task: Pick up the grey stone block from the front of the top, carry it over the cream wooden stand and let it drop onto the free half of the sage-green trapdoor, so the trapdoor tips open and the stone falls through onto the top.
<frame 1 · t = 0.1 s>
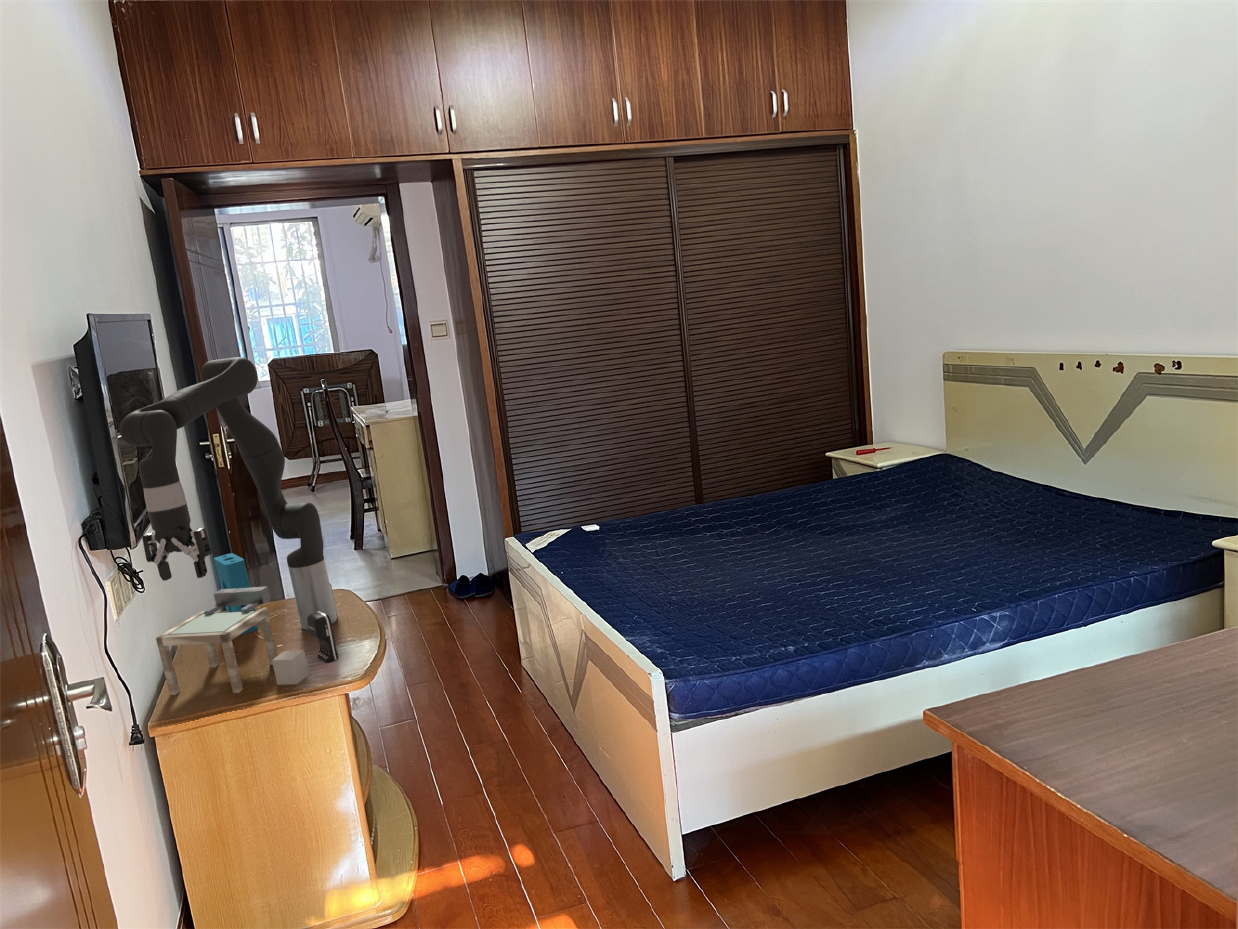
hand: (184, 578, 193), 29 cm above the table, tool pointing down, fingers open, 8 cm apart
block: (245, 629, 246), on the table
trapdoor frame: (225, 678, 213), on the table
stone block: (293, 679, 206), on the table
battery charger: (326, 659, 216), on the table
trapdoor: (221, 611, 213), point 15 cm above the table, hinge at 0.0°
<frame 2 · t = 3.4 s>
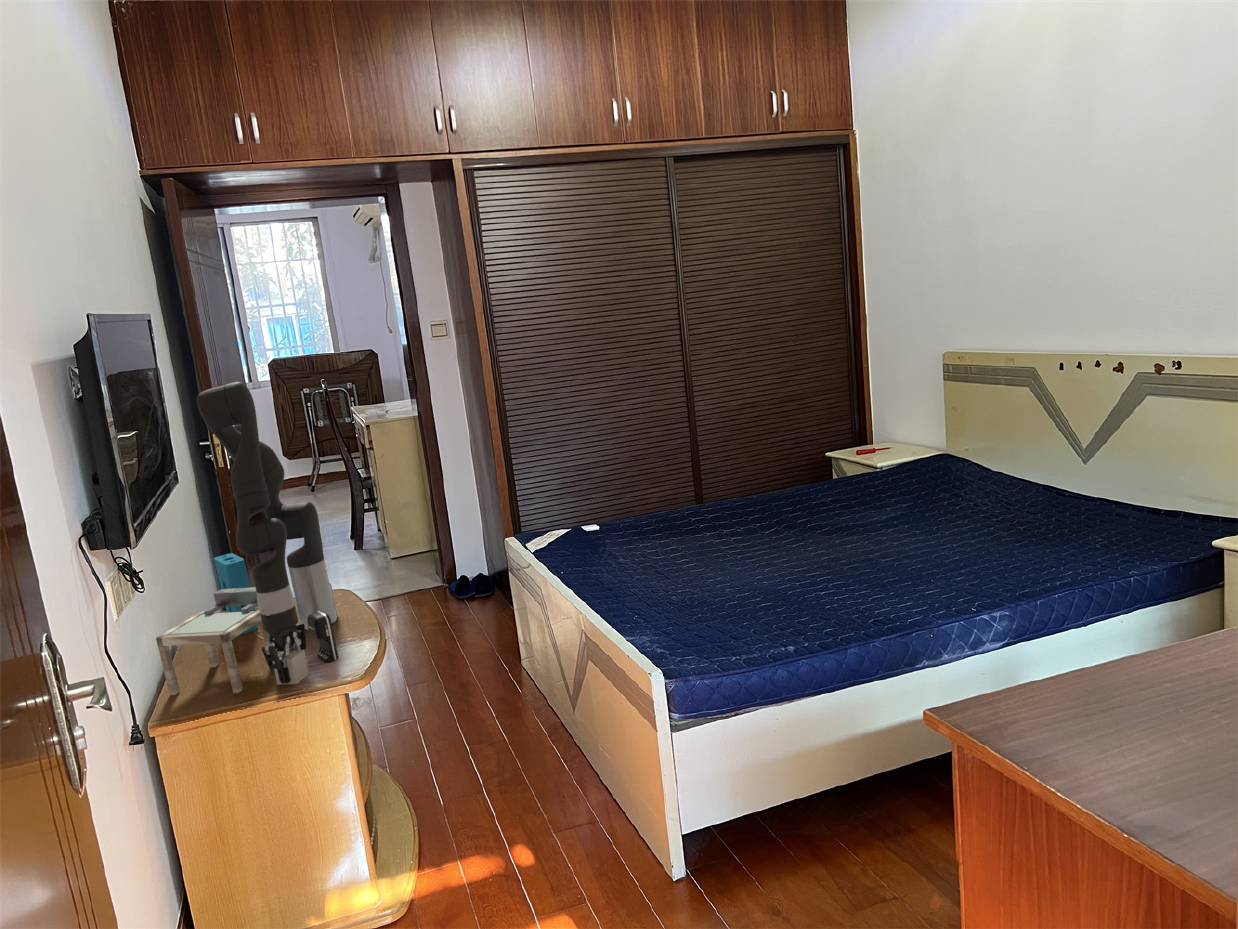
hand: (292, 676, 206), 1 cm above the table, tool pointing down, fingers closed on stone block, 5 cm apart
stone block: (293, 679, 206), on the table, touching gripper
everything else where it was.
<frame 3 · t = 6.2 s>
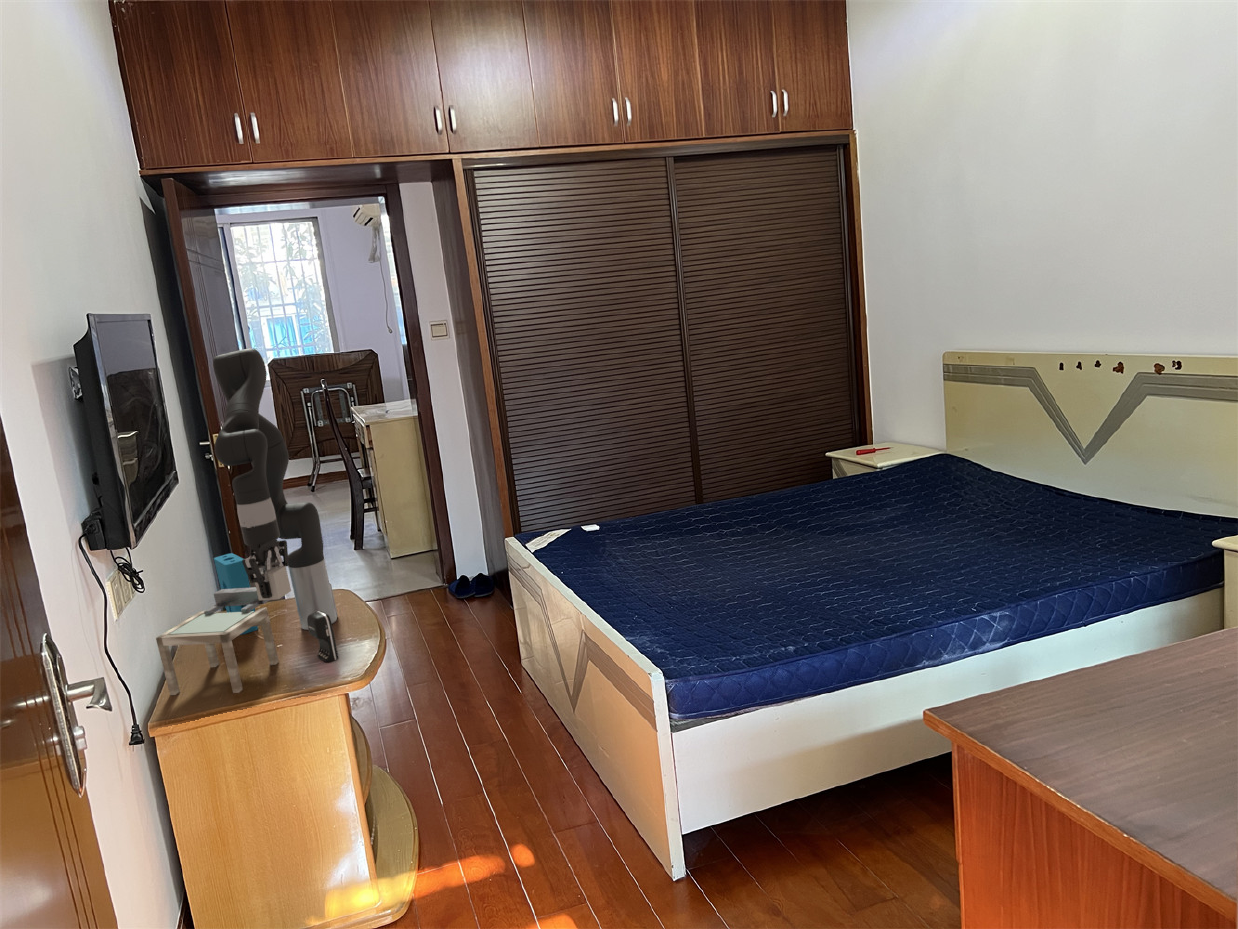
hand: (274, 592, 202), 21 cm above the table, tool pointing down, fingers closed on stone block, 5 cm apart
stone block: (275, 595, 202), point 20 cm above the table, touching gripper
everything else where it was.
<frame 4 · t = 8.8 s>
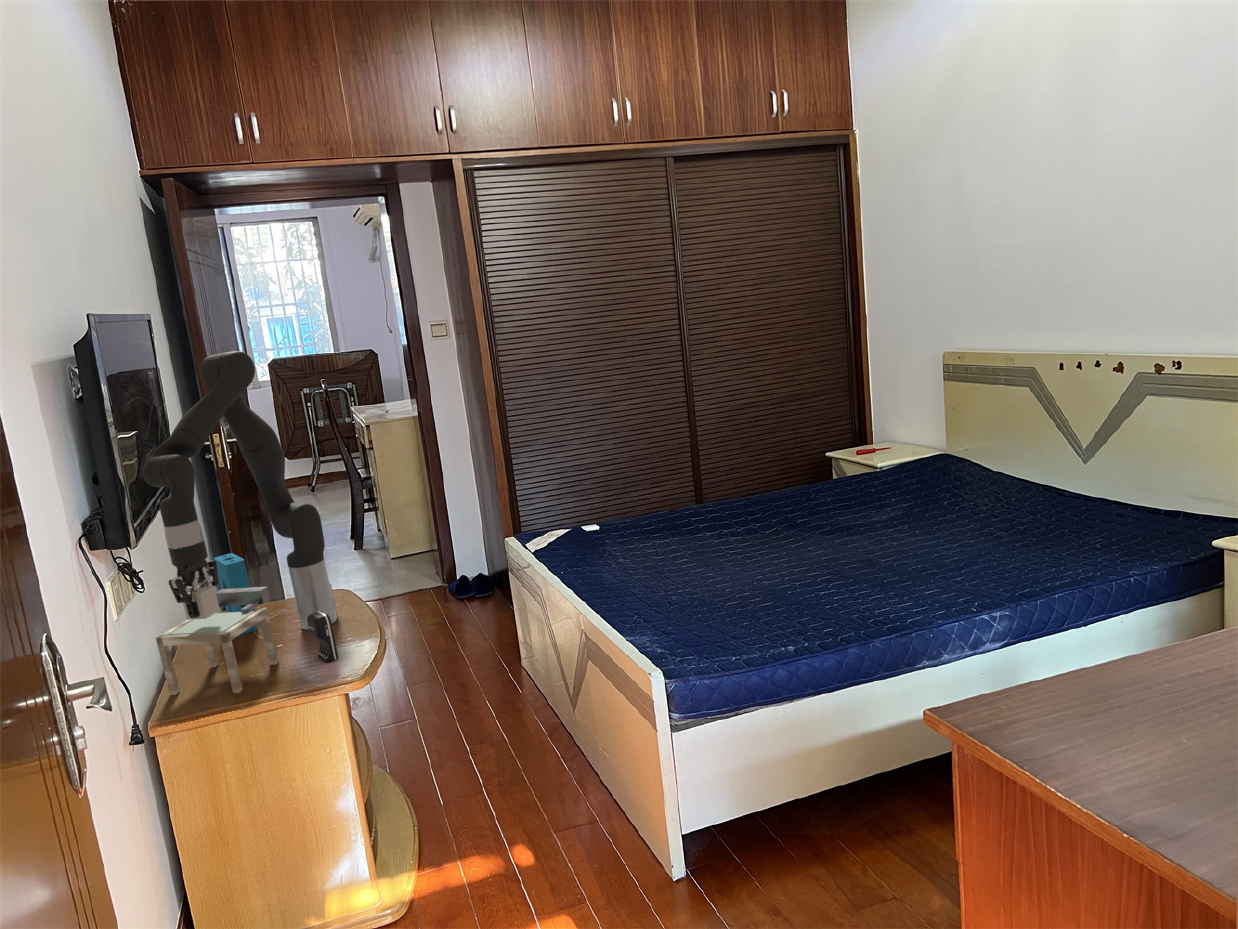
hand: (202, 612, 207), 17 cm above the table, tool pointing down, fingers closed on stone block, 5 cm apart
stone block: (203, 615, 207), point 17 cm above the table, touching gripper
everything else where it was.
when the fingers open (17 cm above the table, at t = 9.4 s): stone block drops 11 cm and tips over, point 6 cm above the table.
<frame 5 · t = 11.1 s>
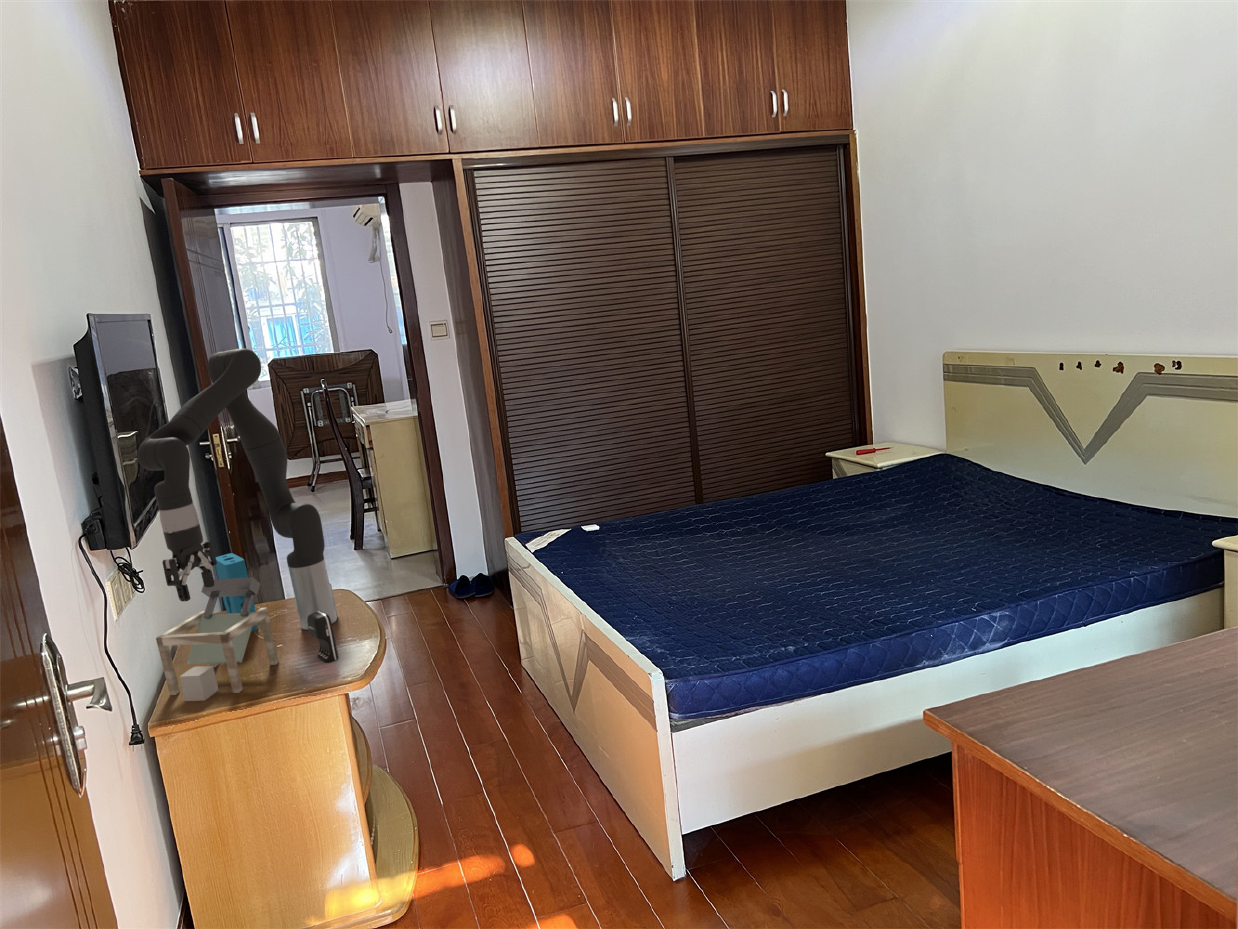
hand: (197, 593, 206), 22 cm above the table, tool pointing down, fingers open, 8 cm apart
stone block: (196, 671, 203), point 6 cm above the table, tilted 180°
trapdoor: (222, 620, 213), point 13 cm above the table, hinge at -43.9°
everything else where it was.
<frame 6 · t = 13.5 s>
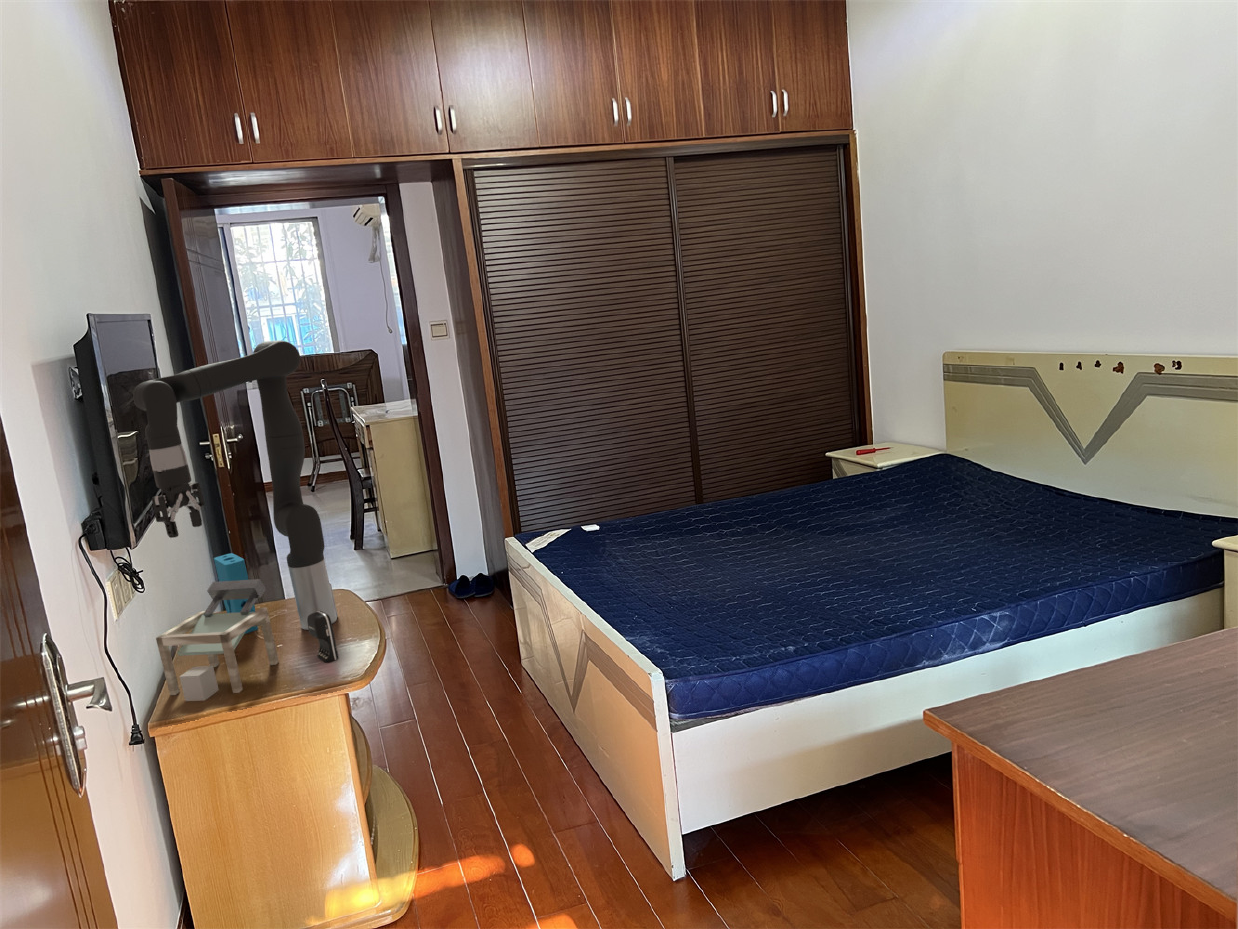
hand: (185, 531, 215), 34 cm above the table, tool pointing down, fingers open, 8 cm apart
trapdoor: (221, 616, 213), point 14 cm above the table, hinge at -24.3°
everything else where it was.
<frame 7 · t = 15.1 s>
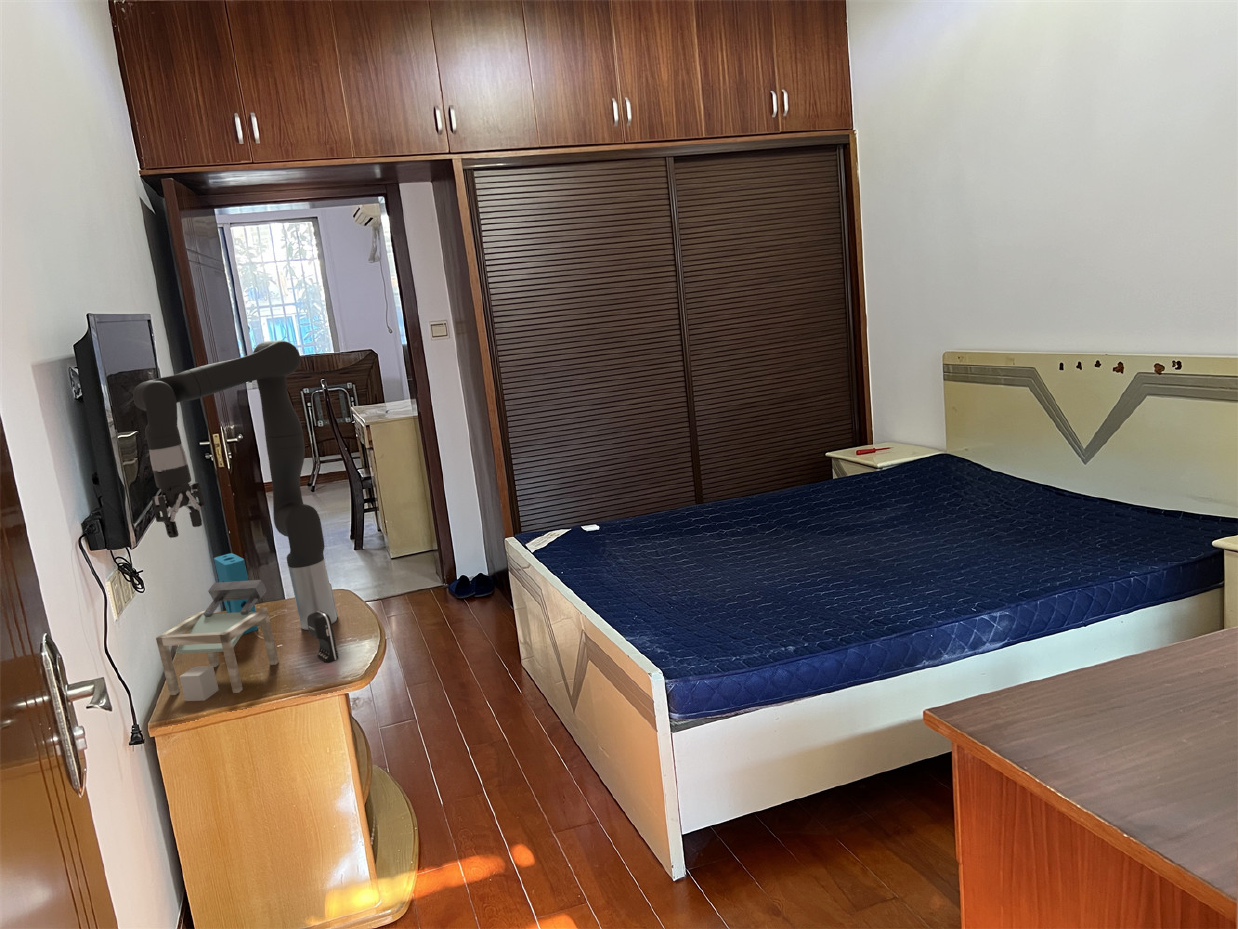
hand: (185, 531, 215), 34 cm above the table, tool pointing down, fingers open, 8 cm apart
trapdoor: (221, 615, 213), point 14 cm above the table, hinge at -20.8°
everything else where it was.
at the end: stone block inside the target area on the trapdoor frame (6.2 cm from its centre), point 5.9 cm above the trapdoor frame's base; the gripper is holding nothing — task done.
